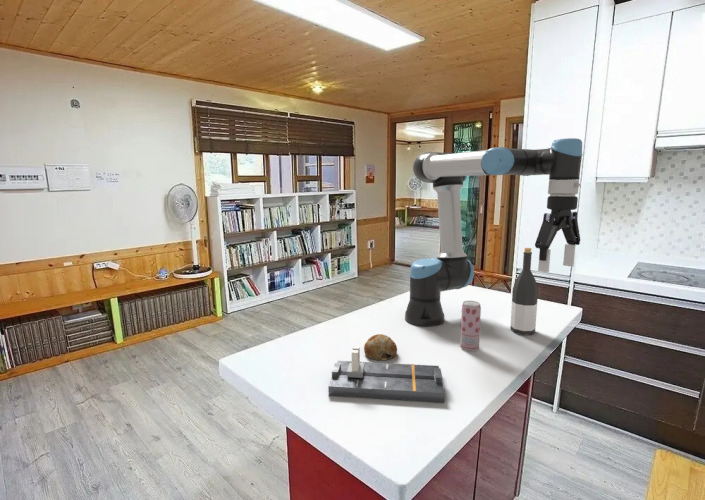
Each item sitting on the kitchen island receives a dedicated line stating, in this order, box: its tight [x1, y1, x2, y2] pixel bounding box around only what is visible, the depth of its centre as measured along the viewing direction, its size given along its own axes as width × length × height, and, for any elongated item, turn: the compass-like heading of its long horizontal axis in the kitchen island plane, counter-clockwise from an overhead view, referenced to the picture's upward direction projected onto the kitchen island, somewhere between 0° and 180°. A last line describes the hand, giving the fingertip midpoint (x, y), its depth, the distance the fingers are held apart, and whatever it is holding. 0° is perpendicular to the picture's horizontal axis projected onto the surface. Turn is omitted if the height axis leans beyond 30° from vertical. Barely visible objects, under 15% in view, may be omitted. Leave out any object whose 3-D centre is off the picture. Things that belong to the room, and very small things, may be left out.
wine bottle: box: [509, 247, 539, 336], centre depth 130 cm, size 8×8×30 cm
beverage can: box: [459, 300, 482, 353], centre depth 118 cm, size 6×6×15 cm
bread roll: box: [363, 333, 398, 362], centre depth 115 cm, size 10×10×8 cm
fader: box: [347, 345, 364, 378], centre depth 97 cm, size 4×5×7 cm
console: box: [327, 360, 445, 404], centre depth 97 cm, size 28×14×4 cm, turn 82°
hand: (556, 268), depth 109 cm, fingers open, 13 cm apart
